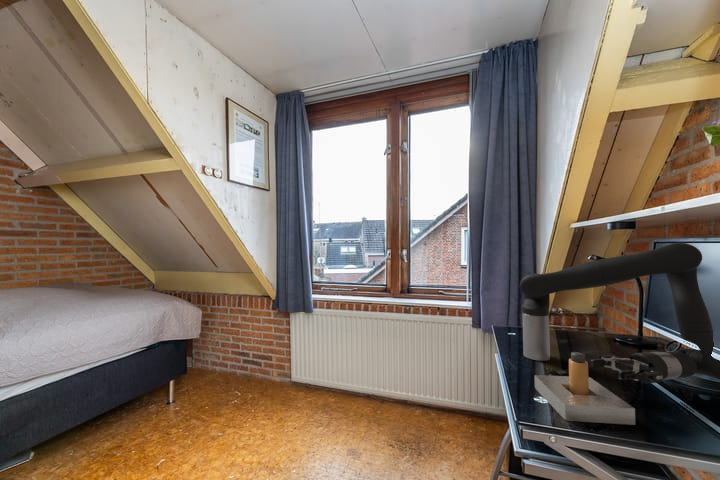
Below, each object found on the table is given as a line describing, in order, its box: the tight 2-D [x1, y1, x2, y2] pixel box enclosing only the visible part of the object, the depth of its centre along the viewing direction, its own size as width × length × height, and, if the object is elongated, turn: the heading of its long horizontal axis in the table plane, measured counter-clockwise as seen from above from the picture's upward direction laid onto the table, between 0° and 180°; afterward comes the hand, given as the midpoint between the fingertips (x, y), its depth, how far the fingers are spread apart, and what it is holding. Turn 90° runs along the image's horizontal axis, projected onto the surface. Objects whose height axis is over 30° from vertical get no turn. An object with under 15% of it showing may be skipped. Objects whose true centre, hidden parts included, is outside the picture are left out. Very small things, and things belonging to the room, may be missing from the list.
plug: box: [568, 351, 589, 396], centre depth 85 cm, size 4×4×14 cm
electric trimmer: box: [546, 368, 569, 376], centre depth 102 cm, size 4×16×3 cm, turn 104°
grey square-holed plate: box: [534, 374, 636, 426], centre depth 85 cm, size 18×16×4 cm
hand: (605, 369), depth 86 cm, fingers open, 8 cm apart
